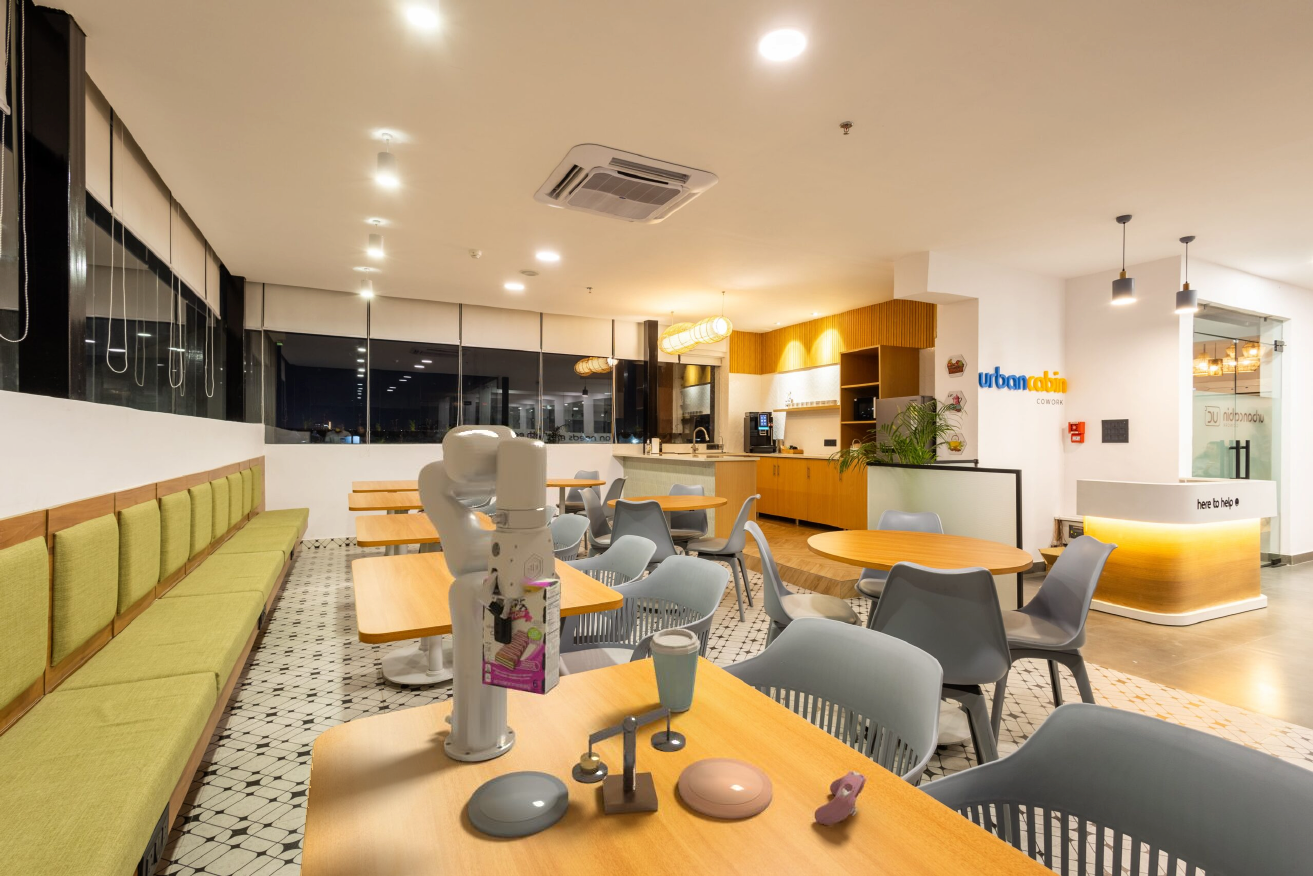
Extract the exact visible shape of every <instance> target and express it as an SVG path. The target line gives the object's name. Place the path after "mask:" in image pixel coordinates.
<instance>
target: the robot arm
mask: <svg viewBox="0 0 1313 876" xmlns="http://www.w3.org/2000/svg"><path fill="white" fill-rule="evenodd" d="M546 445H547V444H546V443H545V442H544V441H543V440H541V439H536V438H529V437H526V436H517V435H516V433H515V431H514V430H513V429H511V428H510V427H508V426H506V425H495V424H494V425H489V424H488V425H482V424H481V425H480V424H479V425H478V424H477V425H476V424H475V425H474V424H463V425H458V426H456V427H453V428H452V429H449V431H448V432H447V433H446V434H445V436H444V437H443V439H442V443H441V446H442V447H441V448H442V460H437V461H433V462H429V463H427V464H425V465H424V466H423V467H422V468H421V469H420V471H419V473H418V479H417V491H418V496H419V500H420V504H421V506H422V508H423V510H424V512H425V515H426V517H427V518H428V520H429V522H430V523H431V524H432V526H433V527H434V528H435V531H436V533H437V535H438V537H439V542H440V545H441V548H442V553H443V557H444V560H445V564H446V567H447V569H448V572H449V573H450V575H451V576H452V577H453V578H454V580H453V581H452V582H451V585H450V586H449V589H448V595H447V598H448V599H447V600H448V608H449V613H450V621H451V631H452V642H453V643H452V651H453V652H452V654H453V655H452V656H453V661H452V663H453V664H452V665H453V667H452V668H453V669H452V671H453V672H452V673H453V674H452V675H453V676H452V677H453V679H452V680H453V681H452V683H453V684H452V685H453V686H452V687H453V688H452V694H453V695H452V700H453V701H452V710H451V715H450V714H449V715H446V716H445V718H444V722H445V723H446V724H448V725H450V733H449V734H448V735H447V736H446V737H445V739H444V742H443V750H444V753H445V754H446V756H448V757H449V758H452V759H453V760H455V761H456V760H457V761H460V760H461V761H460V762H480V761H486V760H491V759H494V758H498V757H500V756H502V755H504V754H505V753H506V752H508V751H509V750H510V749H512V748H513V746H514V745H515V743H516V732H515V730H514V729H513V728H512V727H510V726H509V725H508V688H502V687H497V686H491V685H485V684H482V659H483V605H484V606H485V608H486V609H487V610H488V611H489V612H490V614H491V615H493V616H494V640H495V641H496V642H499V643H502V644H505V645H508V644H510V643H511V641H512V619H511V617H508V614H509V611H510V608H511V605H512V601H513V600H515V599H519V598H523V597H524V596H525V586H526V584H528V583H531V582H535V581H539V580H543V579H547V578H551V579H558V580H561V577H560V575H559V574H558V573H557V572H556V559H555V547H554V540H553V535H552V534H553V533H552V531H551V527H550V526H549V525H547V476H548V475H547V472H548V471H547V465H548V463H547V460H548V459H547V457H548V453H547V450H548V449H547V446H546ZM490 498H495V500H496V501H495V502H496V503H495V515H494V514H493V515H492V516H491V518H490V520H491V523H492V524H493V525H495V529H484V528H483V526H482V523H481V520H480V518H479V516H478V514H476V512H475V511H474V510H472V509H471V508H470V507H469V506H468V505H466V504H464V503H463V502H461V501H460V500H475V499H490ZM487 577H488V580H487V581H486V583H485V584H484V586H483V580H484V579H485V578H487ZM497 586H498V588H497ZM496 589H497V590H496ZM491 595H495V598H494V600H493V599H492V597H491ZM502 599H504V602H503V605H502V607H501V603H502Z"/></svg>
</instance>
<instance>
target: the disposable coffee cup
mask: <svg viewBox="0 0 1313 876" xmlns="http://www.w3.org/2000/svg"><path fill="white" fill-rule="evenodd" d="M700 647H701V641H700V639H698V636H697V635H696V634H695V632H694V631H691V630H689V629H686V628H674V627H673V628H664V629H661V630H659V631H657V632H655V633H654V634H653V636H652V639H651V640H650V642H649V648H650V650H651V654H652V655H651V656H652V661H653V667H654V673H655V675H654V676H655V681H656V686H657V687H656V688H657V693H658V699H659V704H660V706H661V707H664V706H666V705H667V707H668V709H670V713H682V712H686V711H687V710H690V709H691V707H692V703H693V699H694V694H695V693H694V692H695V684H696V676H697V667H698V661H699V660H698V659H699V651H700Z"/></svg>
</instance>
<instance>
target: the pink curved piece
mask: <svg viewBox="0 0 1313 876" xmlns="http://www.w3.org/2000/svg"><path fill="white" fill-rule="evenodd" d="M866 781H867V778H866V777H864V775H863V774H861V773H859V772H856V771H855V770H854V769H853V770H852V771H849V772H848V773H846V775H844V776H841V777H839V778H838V779H835V780H833V781H832V782H831V784H830V786H829V791H830V793H831V794H832V795H833V794H834V795H835V796H834V795H833V796H834V798H833V799H832V800H831V801H829V802H826V803H825V804H823V805H821V806H819V807H818V808H817V809H816V810H815V812H814V816H813V817H814V819H815V821H816V823H818V824H820V825H823V824H824V826H833V825H834V824H837V823H840V822H842V821H843V822H844V820H846V819H847V818H848V816H849V815H851V816H855V815H856V813H857V812H858V808H857V807H856V802H857V799H858V796H859V795H860V794H861V793H862V791H863V789H864V788H865V784H866Z"/></svg>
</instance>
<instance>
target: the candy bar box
mask: <svg viewBox="0 0 1313 876" xmlns="http://www.w3.org/2000/svg"><path fill="white" fill-rule="evenodd" d="M487 580H488V577H487V578H485V579H484V580H483V586H484V584H485V583H486V581H487ZM561 584H562V580H561V579H560V580H558V579H551V578H547V579H543V580H539V581H535V582H531V583H528V584H526V586H525V596H524V597H523V598H519V599H515V600H513V601H512V605H511V608H510V611H509V614H508V617H511V619H512V641H511V643H510V644H508V645H505V644H502V643H499V642H496V641H495V640H494V616H493V615H491V614H490V612H489V611H488V610H487V609H486V608H485V606H484V605H483V659H482V684H485V685H491V686H497V687H502V688H507V690H508V689H510V690H513V691H518V692H519V691H520V692H521V691H522V692H525V693H530V694H531V693H532V694H537V695H542V696H545V695H547V694H548V693H550V691H552V690H553V689H554V688H555V687H557V686H558V685H559V684H560V678H561V677H560V676H561V675H560V674H561V673H560V666H561V664H560V663H561V658H560V653H561V651H560V650H561V649H560V648H561V645H560V643H561V600H562V599H561V597H562V596H561V593H562V592H561V590H562V589H561V588H562V585H561ZM497 588H498V586H497ZM496 590H497V589H496ZM491 597H492V599H493V600H494V598H495V595H491ZM503 602H504V599H502V603H501V607H502V605H503Z"/></svg>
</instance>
